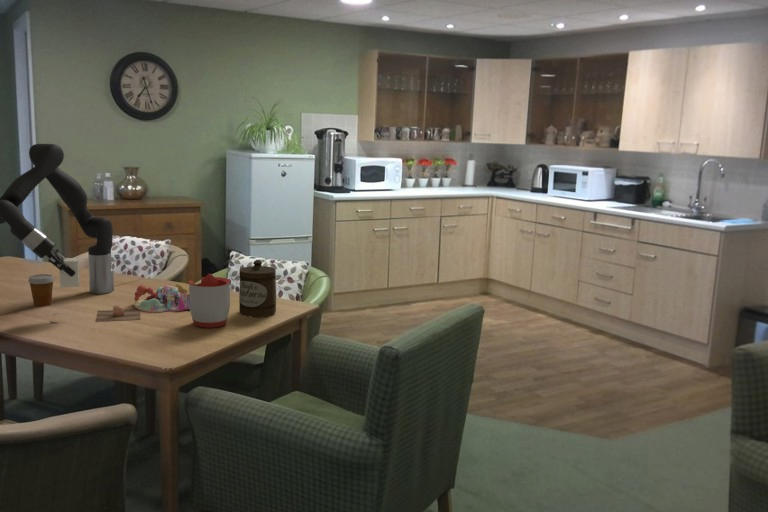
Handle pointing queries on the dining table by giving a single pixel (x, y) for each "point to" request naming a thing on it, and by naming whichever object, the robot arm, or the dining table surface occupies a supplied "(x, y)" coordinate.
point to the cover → (68, 280)
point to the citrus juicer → (209, 301)
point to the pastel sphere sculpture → (163, 299)
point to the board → (108, 316)
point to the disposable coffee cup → (41, 289)
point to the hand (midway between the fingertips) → (74, 272)
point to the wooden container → (257, 290)
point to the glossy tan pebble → (118, 310)
